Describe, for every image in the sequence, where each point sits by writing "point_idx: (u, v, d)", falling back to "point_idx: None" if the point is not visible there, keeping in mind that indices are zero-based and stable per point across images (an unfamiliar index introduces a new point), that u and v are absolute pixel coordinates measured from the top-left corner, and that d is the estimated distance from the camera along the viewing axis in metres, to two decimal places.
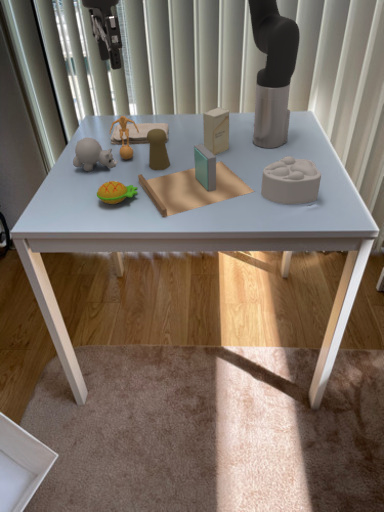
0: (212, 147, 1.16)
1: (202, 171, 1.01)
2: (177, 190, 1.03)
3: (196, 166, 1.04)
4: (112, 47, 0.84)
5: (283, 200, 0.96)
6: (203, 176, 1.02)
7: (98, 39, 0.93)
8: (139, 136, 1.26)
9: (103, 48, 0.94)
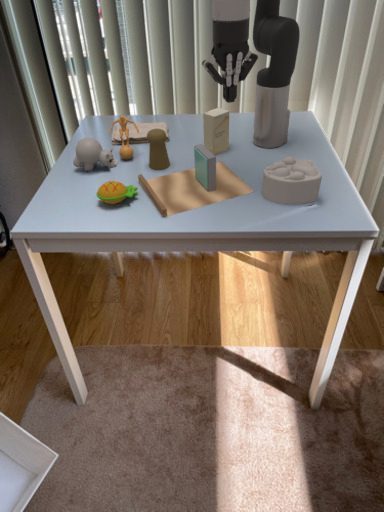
0: (212, 147, 1.16)
1: (202, 171, 1.01)
2: (177, 190, 1.03)
3: (196, 166, 1.04)
4: None
5: (284, 200, 0.96)
6: (203, 176, 1.02)
7: None
8: (140, 135, 1.26)
9: None
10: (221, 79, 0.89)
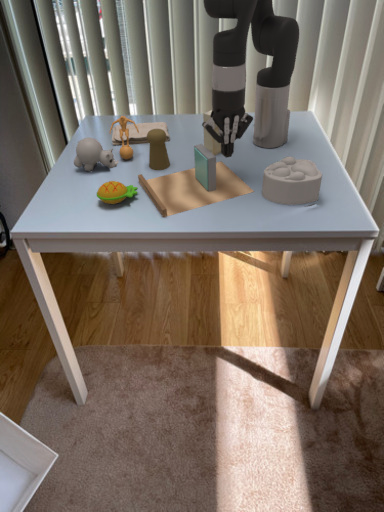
0: (212, 147, 1.16)
1: (202, 171, 1.01)
2: (177, 190, 1.03)
3: (196, 166, 1.04)
4: None
5: (284, 200, 0.96)
6: (203, 176, 1.02)
7: None
8: (141, 135, 1.26)
9: None
10: (219, 138, 0.98)
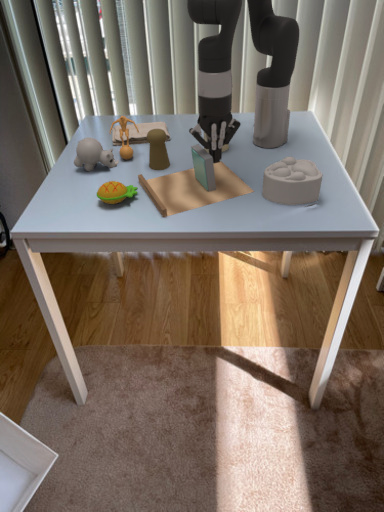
0: None
1: (200, 172, 1.01)
2: (177, 190, 1.03)
3: (195, 167, 1.04)
4: None
5: (285, 200, 0.96)
6: (202, 177, 1.02)
7: None
8: (141, 135, 1.27)
9: None
10: (207, 144, 0.97)
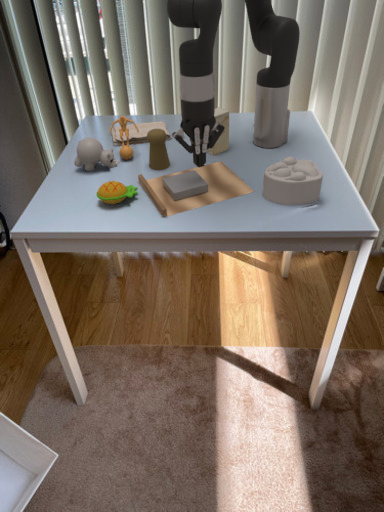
0: None
1: None
2: None
3: None
4: None
5: (285, 200, 0.96)
6: None
7: None
8: (142, 135, 1.27)
9: None
10: (190, 148, 0.96)
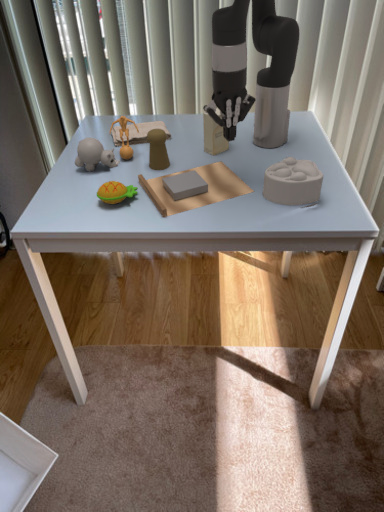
0: (212, 147, 1.16)
1: None
2: None
3: None
4: None
5: (286, 201, 0.96)
6: None
7: None
8: (143, 135, 1.27)
9: None
10: (221, 121, 0.95)
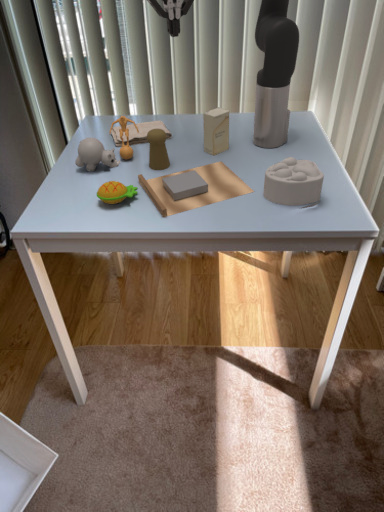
0: (212, 147, 1.16)
1: None
2: None
3: None
4: None
5: (287, 201, 0.96)
6: None
7: None
8: (144, 135, 1.27)
9: None
10: (163, 12, 0.96)
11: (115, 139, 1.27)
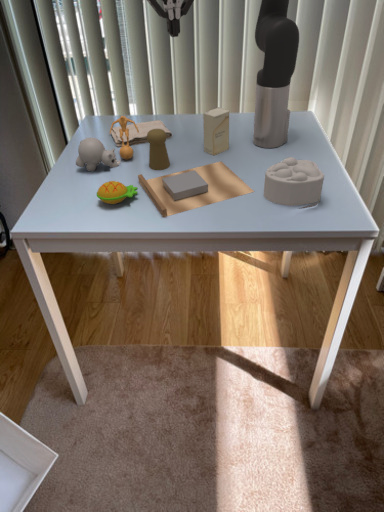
0: (212, 147, 1.16)
1: None
2: None
3: None
4: None
5: (287, 201, 0.96)
6: None
7: None
8: (144, 134, 1.27)
9: None
10: (163, 12, 0.96)
11: (116, 139, 1.27)
